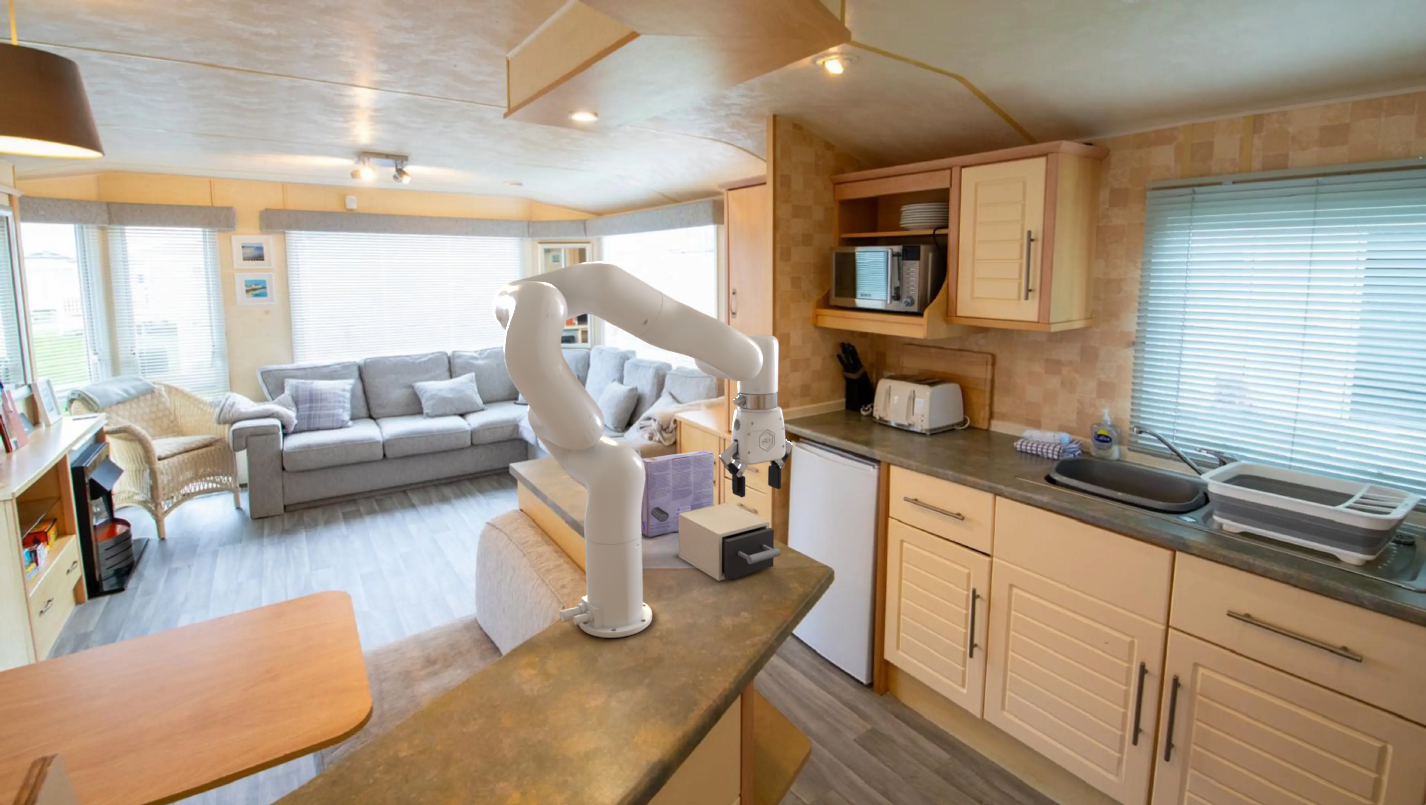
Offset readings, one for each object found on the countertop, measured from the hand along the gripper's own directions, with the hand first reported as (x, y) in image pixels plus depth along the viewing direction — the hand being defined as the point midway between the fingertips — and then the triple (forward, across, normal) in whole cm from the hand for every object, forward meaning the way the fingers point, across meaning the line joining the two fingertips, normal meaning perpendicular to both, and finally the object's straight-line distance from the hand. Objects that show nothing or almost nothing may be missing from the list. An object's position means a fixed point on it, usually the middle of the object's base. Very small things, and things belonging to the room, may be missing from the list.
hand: (756, 490), depth 133 cm
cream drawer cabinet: (+18, 0, +11) cm, 21 cm away
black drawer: (+17, 0, +6) cm, 18 cm away
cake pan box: (+18, +3, +33) cm, 38 cm away
